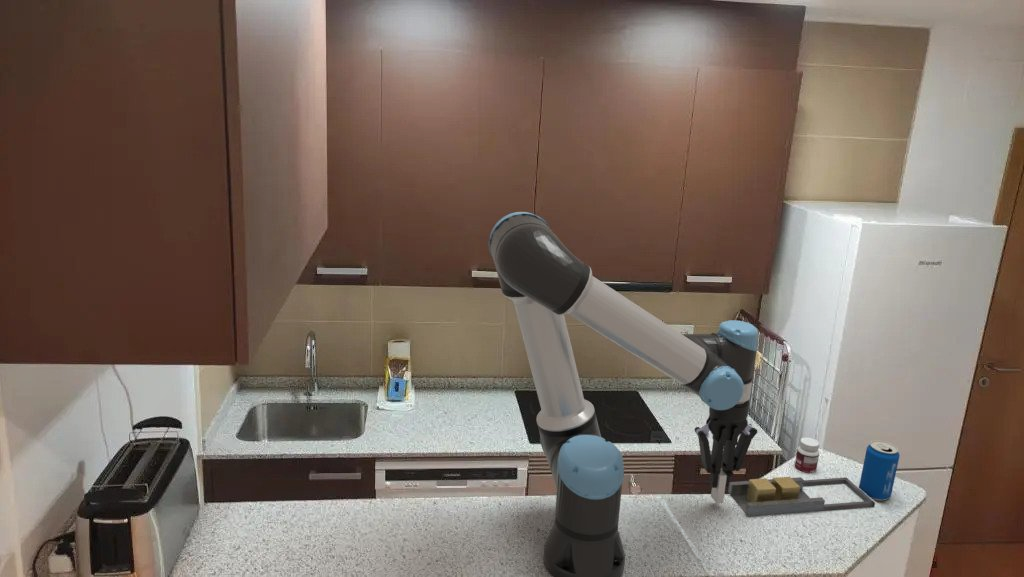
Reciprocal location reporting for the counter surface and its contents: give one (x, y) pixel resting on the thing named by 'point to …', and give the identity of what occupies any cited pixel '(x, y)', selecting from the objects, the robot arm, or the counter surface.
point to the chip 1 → (760, 490)
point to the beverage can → (879, 470)
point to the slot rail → (774, 507)
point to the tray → (841, 506)
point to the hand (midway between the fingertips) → (717, 499)
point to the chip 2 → (785, 488)
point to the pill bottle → (807, 455)
